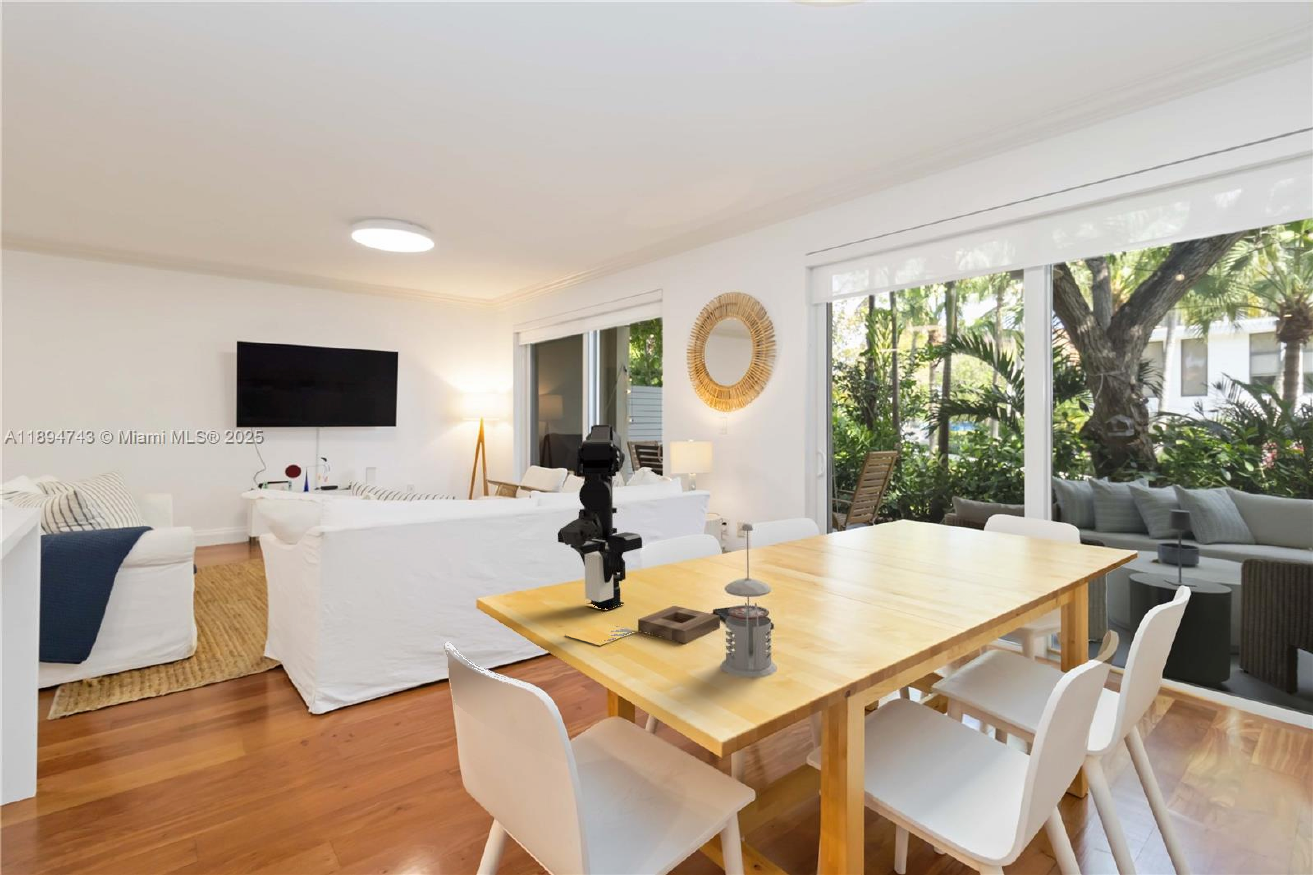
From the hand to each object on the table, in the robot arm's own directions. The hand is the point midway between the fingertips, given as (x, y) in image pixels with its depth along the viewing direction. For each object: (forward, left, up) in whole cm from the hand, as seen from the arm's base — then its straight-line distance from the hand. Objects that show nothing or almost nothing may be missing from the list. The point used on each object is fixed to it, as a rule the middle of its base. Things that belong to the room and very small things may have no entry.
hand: (599, 580), depth 128 cm
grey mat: (0, 0, -11) cm, 11 cm away
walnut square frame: (+11, +12, -11) cm, 20 cm away
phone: (+18, +25, -12) cm, 33 cm away
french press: (+33, +3, -11) cm, 35 cm away
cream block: (0, 0, -4) cm, 4 cm away
